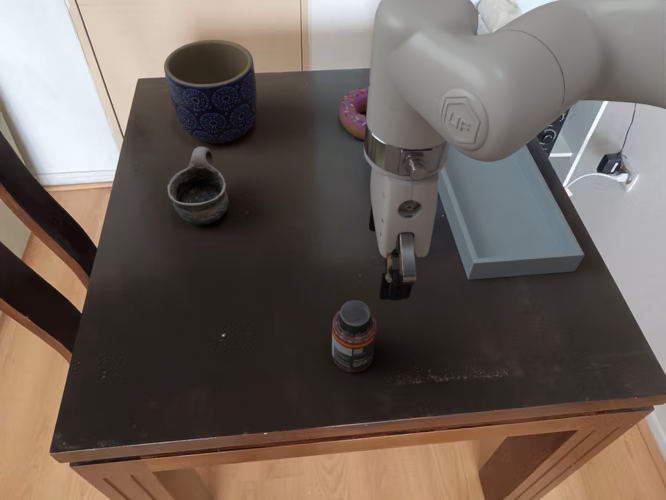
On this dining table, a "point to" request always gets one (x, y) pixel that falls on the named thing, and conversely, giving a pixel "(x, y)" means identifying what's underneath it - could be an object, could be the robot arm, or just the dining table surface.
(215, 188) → the mug
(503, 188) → the blue-grey tray
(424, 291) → the dining table surface
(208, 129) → the planter
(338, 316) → the supplement bottle
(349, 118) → the donut
